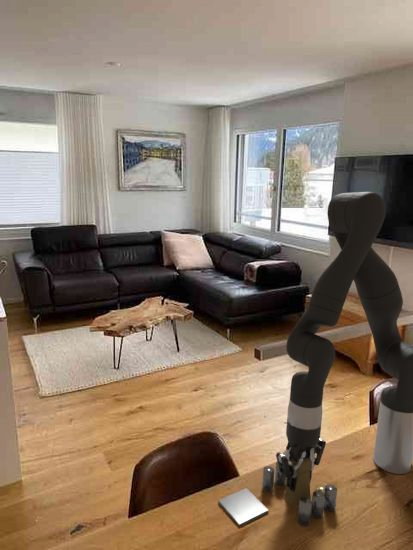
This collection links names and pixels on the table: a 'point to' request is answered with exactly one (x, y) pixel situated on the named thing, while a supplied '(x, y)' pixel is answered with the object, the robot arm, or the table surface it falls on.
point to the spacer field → (305, 504)
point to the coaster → (243, 507)
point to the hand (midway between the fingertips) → (298, 485)
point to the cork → (300, 483)
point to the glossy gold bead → (320, 488)
